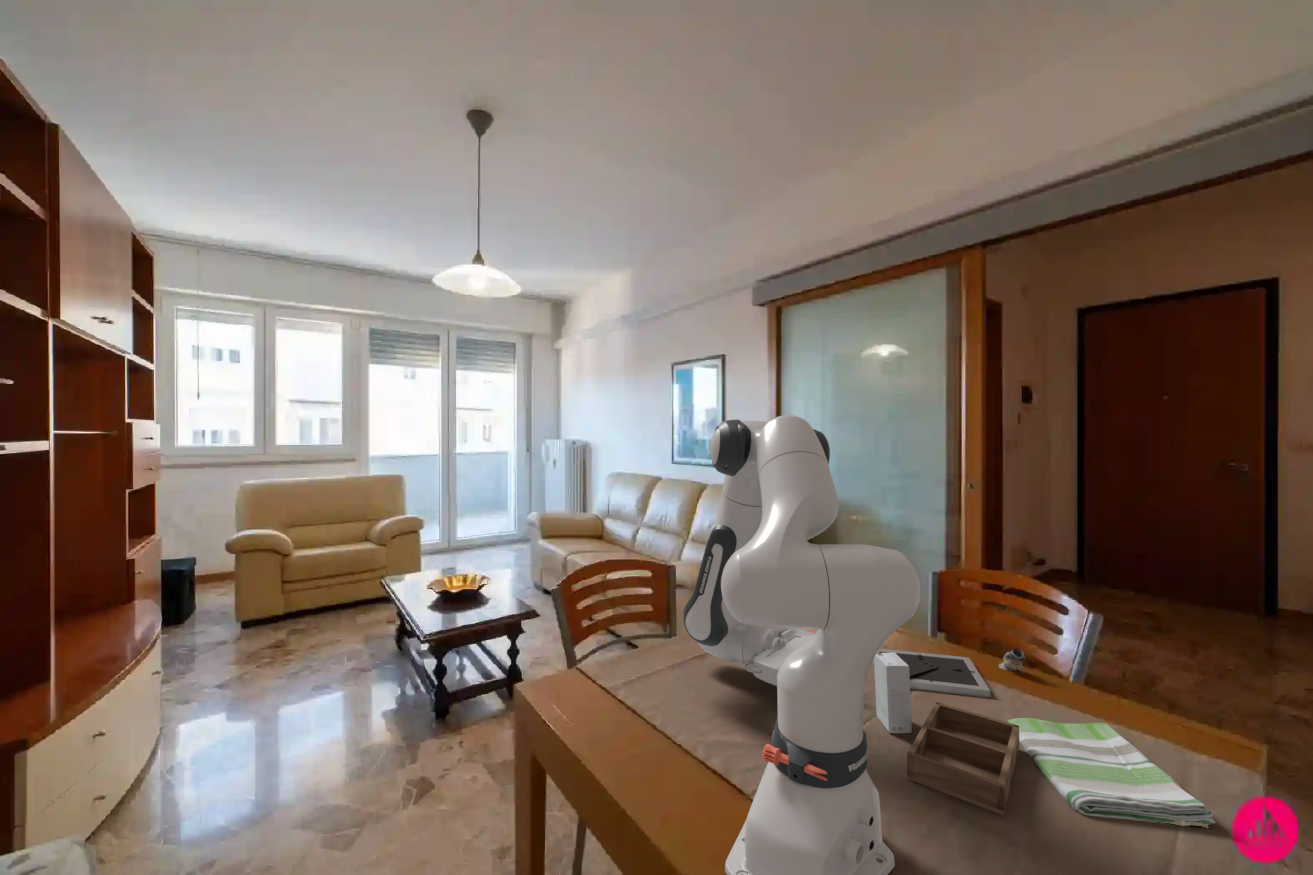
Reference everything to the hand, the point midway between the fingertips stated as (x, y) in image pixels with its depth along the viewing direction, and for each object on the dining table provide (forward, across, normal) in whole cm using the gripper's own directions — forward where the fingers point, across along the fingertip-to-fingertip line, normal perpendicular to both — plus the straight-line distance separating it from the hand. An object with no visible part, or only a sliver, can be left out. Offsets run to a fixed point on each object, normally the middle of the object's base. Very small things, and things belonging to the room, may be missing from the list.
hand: (827, 667), depth 105 cm
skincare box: (+12, 0, +7) cm, 14 cm away
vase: (+27, +37, +7) cm, 46 cm away
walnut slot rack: (+25, -5, +7) cm, 26 cm away
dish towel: (+41, +6, +8) cm, 42 cm away
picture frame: (+12, +25, +8) cm, 29 cm away
